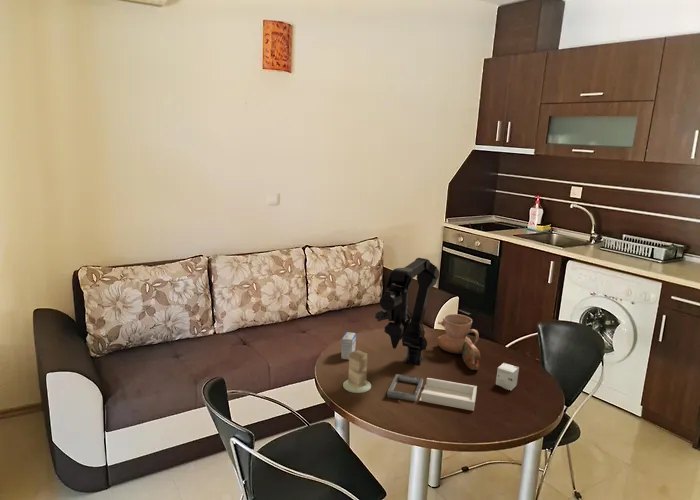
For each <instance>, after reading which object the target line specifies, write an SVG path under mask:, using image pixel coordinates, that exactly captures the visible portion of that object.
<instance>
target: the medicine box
mask: <svg viewBox="0 0 700 500" xmlns="http://www.w3.org/2000/svg"><path fill="white" fill-rule="evenodd" d="M356 341H357V333H356V332H349V331H346V332H345V333H344V336H342V338H341V349H340V350H341V352H340V355H341V356H340V357H341V359H342V360H348V361H349V353H351V352H354V351H356V346H357V345H356Z"/></svg>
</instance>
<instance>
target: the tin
mask: <svg viewBox="0 0 700 500" xmlns="http://www.w3.org/2000/svg"><path fill="white" fill-rule="evenodd" d="M461 355H462V361H463V363H464V364H465V365H466V366H467V368H468V369H470V370H471V371H477V370H479V368H480V364H481V359H482V358H481V352H480V350H479V348H478V347H476V345H474V344H473V341H472V342H464V344H463V348H462V354H461Z"/></svg>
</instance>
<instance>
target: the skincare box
mask: <svg viewBox="0 0 700 500" xmlns="http://www.w3.org/2000/svg"><path fill="white" fill-rule="evenodd" d="M496 371H497V372H496V378H495V385H496V386H499V387H501V388H503V389H504V390H506V391H507V390H508V391H509V390H510V392H511V391H513V390H514V388H515V387H517V385H518V379H519V378H518V377H519V371H520V367H519V366H515V365H512V364H509V363H506V362H503V363H501V365H499V366H498V367H497V368H496Z"/></svg>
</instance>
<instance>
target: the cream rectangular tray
mask: <svg viewBox="0 0 700 500" xmlns="http://www.w3.org/2000/svg"><path fill="white" fill-rule="evenodd" d="M425 383H426V384H424V387H423V389H422V391H421V394H420V398H419V402H425V403H429V404H434V405H441V406H446V407H451V408H457V409H462V410H467V411H473V412H474V411H475V406H476V405H475V404H476V398H477V391H478V390H477V388H478V386H477V385H473V384H472V385H471V384H466V383H460V382H454V381H449V380H443V379H437V378H431V377H427V378H426V382H425Z"/></svg>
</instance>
